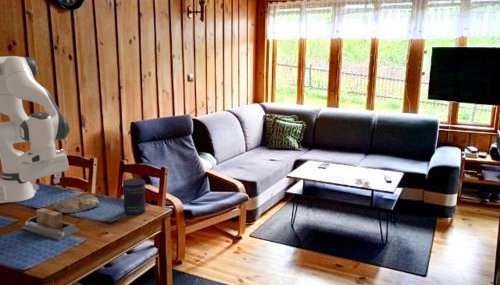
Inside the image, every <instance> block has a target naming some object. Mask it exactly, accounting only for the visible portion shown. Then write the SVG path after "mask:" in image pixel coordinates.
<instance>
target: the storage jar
mask: <svg viewBox="0 0 500 285" xmlns="http://www.w3.org/2000/svg"><path fill="white" fill-rule="evenodd" d="M122 192H123V199H124V200H123V208H124V209H123V210H124V215H126V216H129V217H135V216H141V215H144V214H145V213H146V211H147V210H146V206H147V203H146V198H145V197H146V196H145V193H146V184H145V179H142V178H137V177H136V178H133V177H132V178H127V179H125V180H123V181H122Z"/></svg>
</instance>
